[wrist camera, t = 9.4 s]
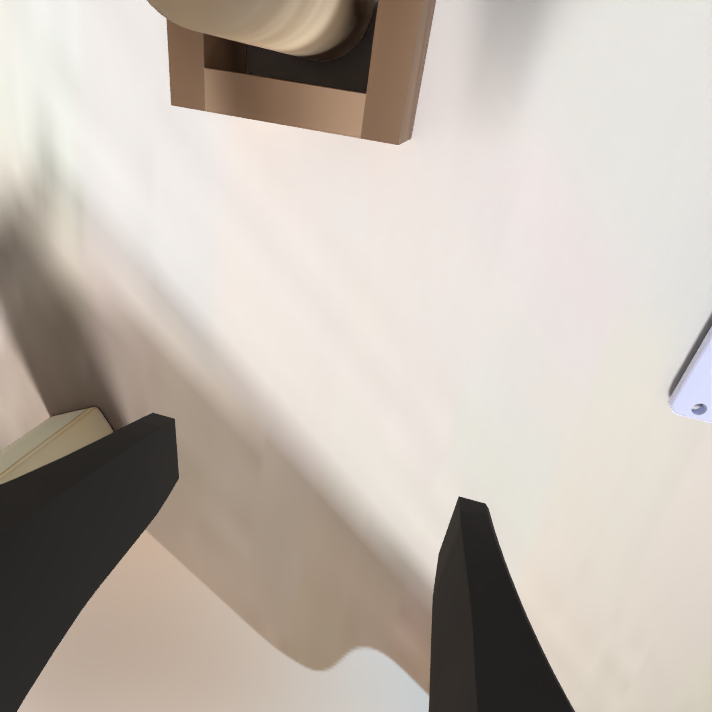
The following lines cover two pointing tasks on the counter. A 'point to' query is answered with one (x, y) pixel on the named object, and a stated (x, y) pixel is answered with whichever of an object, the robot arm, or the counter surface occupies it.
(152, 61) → the counter surface
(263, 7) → the beech peg
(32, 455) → the skincare box
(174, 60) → the walnut holder
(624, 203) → the counter surface
